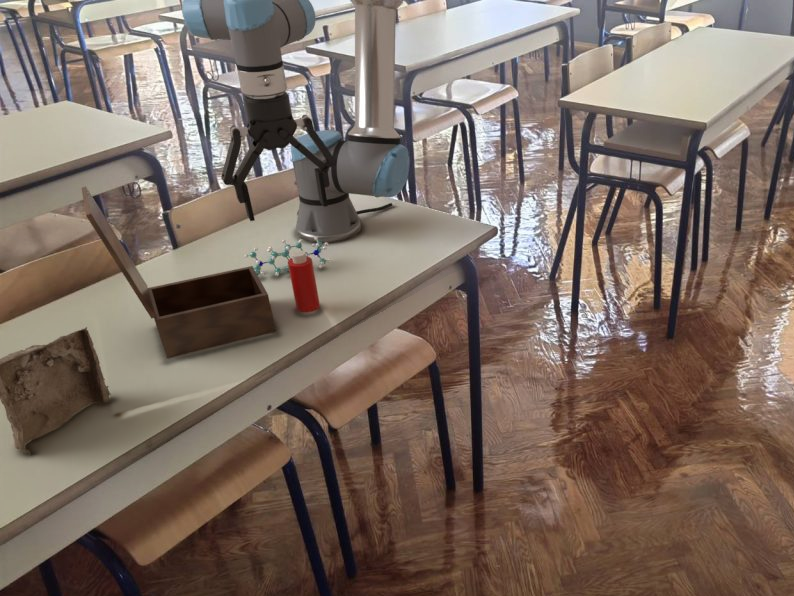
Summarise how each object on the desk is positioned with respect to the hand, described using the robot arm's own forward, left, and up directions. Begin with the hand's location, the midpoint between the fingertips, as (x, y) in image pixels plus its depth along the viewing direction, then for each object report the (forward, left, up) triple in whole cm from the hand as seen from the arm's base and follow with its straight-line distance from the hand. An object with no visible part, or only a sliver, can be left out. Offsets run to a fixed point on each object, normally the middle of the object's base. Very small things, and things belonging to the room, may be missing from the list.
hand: (288, 211), depth 141 cm
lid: (+29, 0, -2) cm, 29 cm away
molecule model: (-1, -18, -21) cm, 28 cm away
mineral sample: (+45, +18, -21) cm, 53 cm away
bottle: (0, 0, -21) cm, 21 cm away
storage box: (+18, 0, -21) cm, 27 cm away
